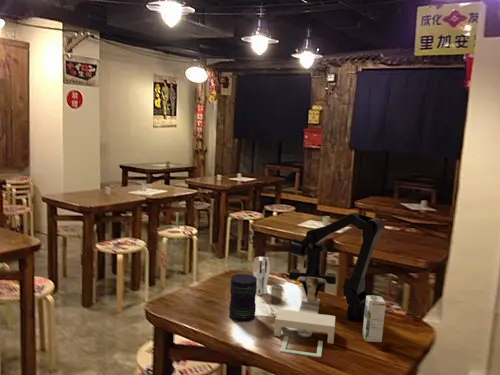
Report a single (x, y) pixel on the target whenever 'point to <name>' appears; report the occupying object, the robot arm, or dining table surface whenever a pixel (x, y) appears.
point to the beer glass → (261, 274)
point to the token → (304, 333)
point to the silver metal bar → (310, 301)
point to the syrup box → (373, 319)
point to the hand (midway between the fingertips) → (311, 296)
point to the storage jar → (242, 298)
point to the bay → (283, 349)
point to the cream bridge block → (305, 322)
